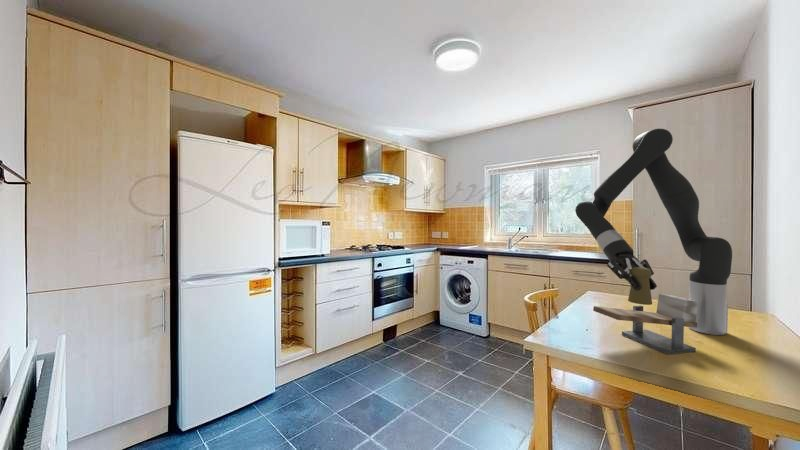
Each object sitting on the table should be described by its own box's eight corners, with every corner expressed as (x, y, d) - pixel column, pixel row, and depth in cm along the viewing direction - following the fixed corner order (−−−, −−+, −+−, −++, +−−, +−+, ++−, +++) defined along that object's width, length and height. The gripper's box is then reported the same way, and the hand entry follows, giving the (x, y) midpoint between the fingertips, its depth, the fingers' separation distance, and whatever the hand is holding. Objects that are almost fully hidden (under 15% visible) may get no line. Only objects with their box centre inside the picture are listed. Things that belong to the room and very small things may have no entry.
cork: (656, 305, 92) (658, 269, 92) (634, 304, 93) (635, 268, 93) (645, 300, 98) (646, 266, 98) (624, 298, 99) (625, 265, 99)
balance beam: (663, 317, 103) (666, 294, 103) (700, 329, 92) (703, 302, 93) (590, 309, 99) (594, 285, 99) (620, 321, 88) (624, 293, 88)
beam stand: (646, 333, 105) (647, 304, 105) (695, 351, 90) (696, 318, 90) (621, 334, 103) (622, 305, 103) (667, 354, 88) (668, 320, 88)
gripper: (602, 239, 101) (634, 282, 90) (639, 238, 103) (675, 281, 92) (589, 253, 106) (618, 295, 95) (624, 252, 109) (657, 294, 97)
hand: (646, 288), depth 93 cm, fingers closed on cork, 4 cm apart
